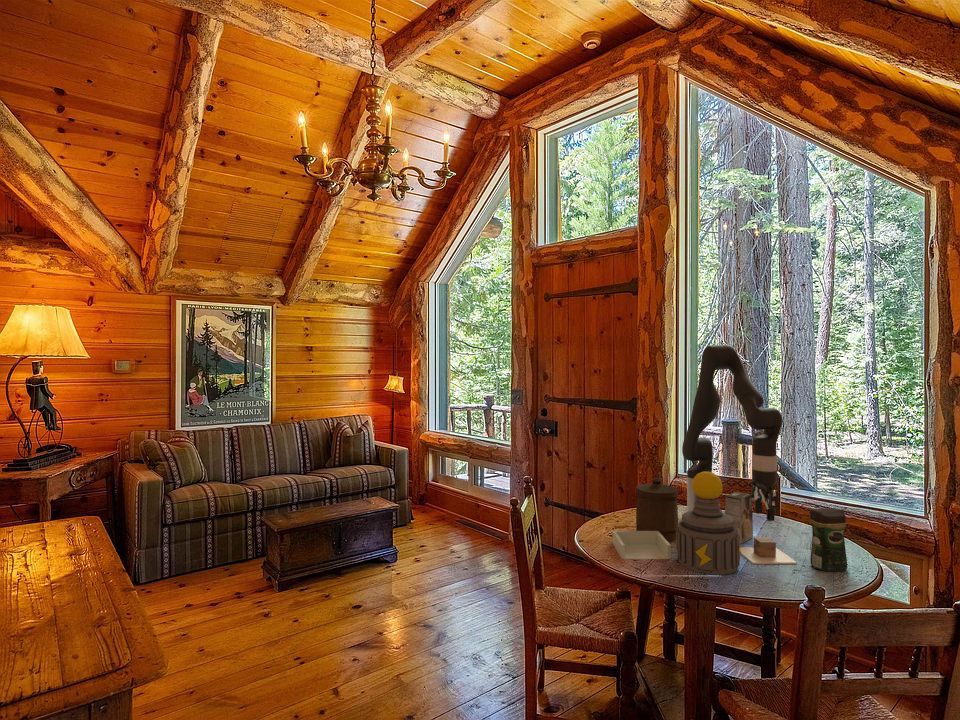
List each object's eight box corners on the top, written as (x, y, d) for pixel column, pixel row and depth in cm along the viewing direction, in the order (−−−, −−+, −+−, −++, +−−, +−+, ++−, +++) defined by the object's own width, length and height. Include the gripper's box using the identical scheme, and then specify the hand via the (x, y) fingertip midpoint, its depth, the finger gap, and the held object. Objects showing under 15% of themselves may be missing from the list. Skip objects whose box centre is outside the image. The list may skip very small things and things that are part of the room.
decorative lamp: (737, 581, 168) (736, 480, 167) (671, 570, 177) (670, 474, 177) (742, 560, 184) (741, 468, 184) (682, 551, 193) (681, 464, 193)
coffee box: (735, 533, 211) (735, 491, 211) (753, 537, 206) (753, 494, 206) (724, 539, 205) (724, 495, 205) (742, 543, 200) (741, 498, 200)
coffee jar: (834, 562, 181) (834, 505, 181) (852, 572, 173) (851, 511, 173) (805, 563, 181) (804, 505, 181) (821, 573, 173) (821, 512, 173)
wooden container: (672, 531, 215) (672, 473, 215) (682, 544, 201) (682, 482, 201) (633, 530, 217) (632, 473, 217) (640, 543, 202) (639, 482, 202)
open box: (612, 544, 201) (612, 530, 201) (658, 544, 200) (658, 530, 200) (621, 560, 186) (621, 545, 186) (670, 560, 185) (670, 545, 185)
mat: (734, 548, 195) (734, 547, 195) (776, 549, 194) (776, 547, 194) (752, 563, 181) (752, 562, 181) (797, 564, 180) (797, 562, 180)
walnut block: (753, 552, 190) (753, 537, 190) (768, 552, 190) (768, 537, 190) (760, 557, 185) (760, 542, 185) (775, 557, 185) (775, 542, 185)
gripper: (786, 472, 180) (786, 523, 180) (765, 463, 194) (765, 510, 195) (762, 473, 180) (762, 523, 181) (743, 463, 195) (743, 510, 195)
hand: (764, 516), depth 188 cm, fingers open, 8 cm apart
